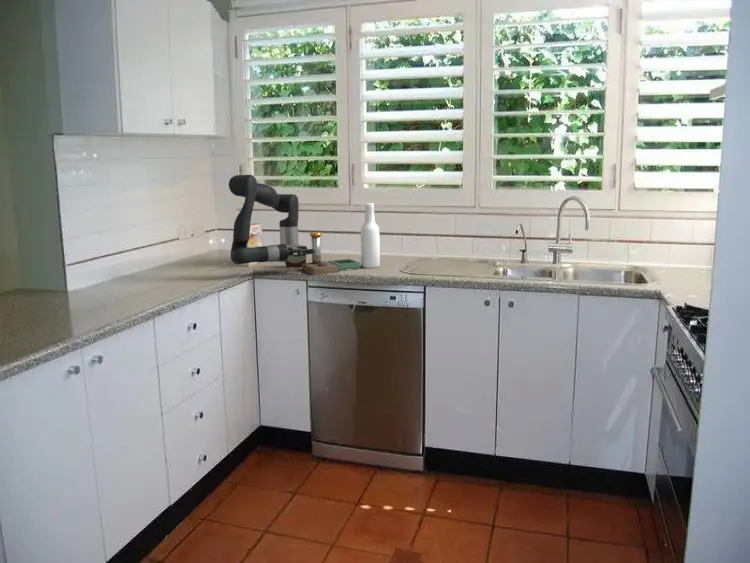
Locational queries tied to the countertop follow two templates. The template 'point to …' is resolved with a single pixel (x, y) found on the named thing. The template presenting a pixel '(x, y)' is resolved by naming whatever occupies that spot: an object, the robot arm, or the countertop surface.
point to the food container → (295, 259)
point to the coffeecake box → (254, 239)
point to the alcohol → (370, 240)
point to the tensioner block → (319, 268)
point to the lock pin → (316, 247)
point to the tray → (346, 264)
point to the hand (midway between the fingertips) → (309, 250)
